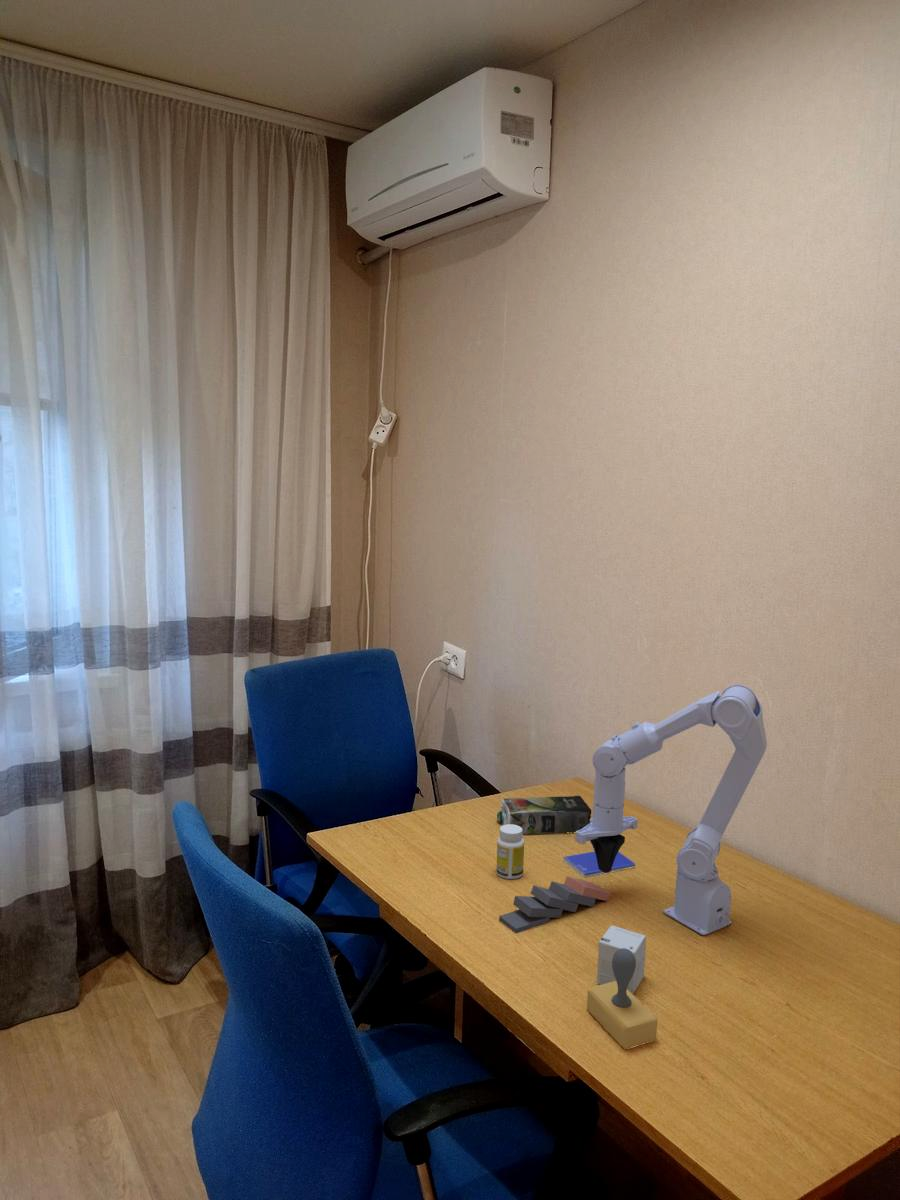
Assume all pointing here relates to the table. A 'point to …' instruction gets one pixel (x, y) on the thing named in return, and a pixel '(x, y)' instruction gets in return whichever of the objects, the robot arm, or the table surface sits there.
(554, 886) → the domino
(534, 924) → the domino
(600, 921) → the table surface
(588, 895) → the domino
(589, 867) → the hard drive
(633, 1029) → the rubber stamp
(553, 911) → the domino
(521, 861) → the supplement bottle
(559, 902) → the domino
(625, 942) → the skincare box
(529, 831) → the juice carton
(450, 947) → the table surface
